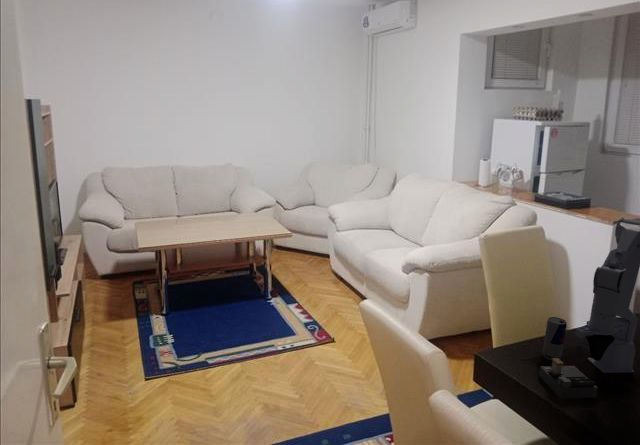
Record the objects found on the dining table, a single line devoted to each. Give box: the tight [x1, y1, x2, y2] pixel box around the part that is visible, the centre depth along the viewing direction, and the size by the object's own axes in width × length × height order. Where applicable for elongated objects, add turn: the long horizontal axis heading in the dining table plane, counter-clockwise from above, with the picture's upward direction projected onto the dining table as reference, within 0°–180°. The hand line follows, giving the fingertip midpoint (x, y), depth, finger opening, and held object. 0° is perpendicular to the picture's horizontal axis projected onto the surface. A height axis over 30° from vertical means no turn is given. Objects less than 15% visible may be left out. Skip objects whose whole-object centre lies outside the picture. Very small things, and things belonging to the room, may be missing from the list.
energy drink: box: [541, 316, 568, 361], centre depth 152 cm, size 5×5×12 cm
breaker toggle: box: [549, 358, 565, 376], centre depth 137 cm, size 2×3×4 cm
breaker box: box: [538, 365, 599, 399], centre depth 137 cm, size 10×11×5 cm
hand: (595, 358), depth 134 cm, fingers closed
